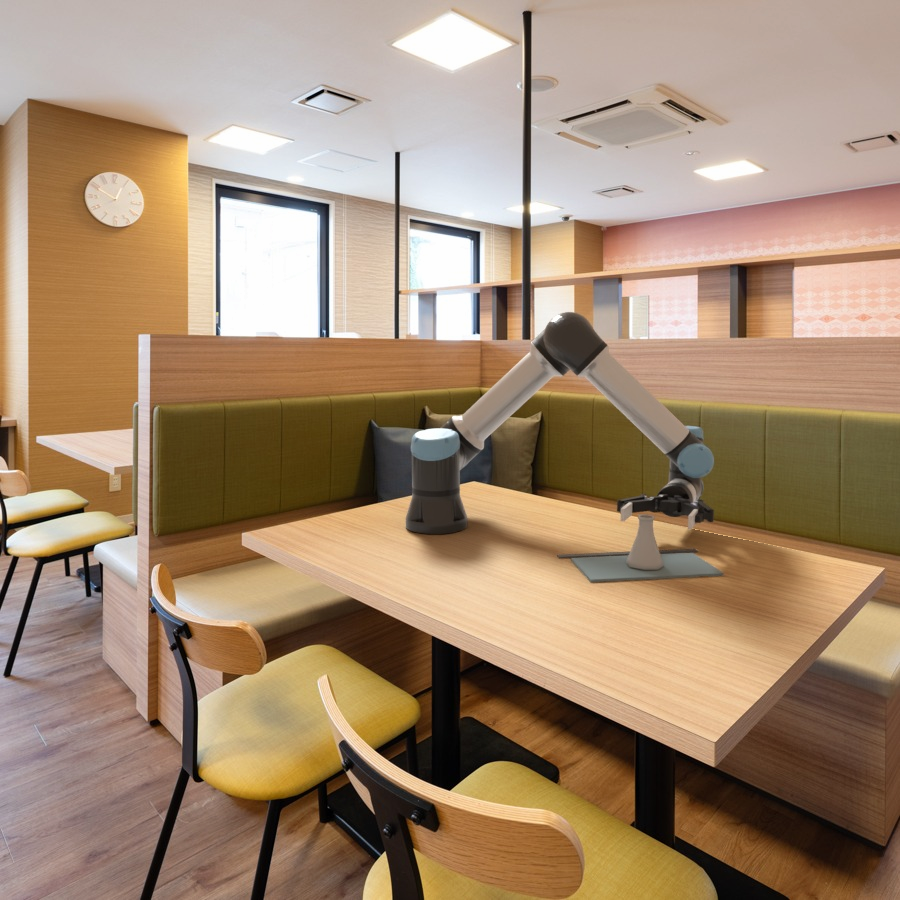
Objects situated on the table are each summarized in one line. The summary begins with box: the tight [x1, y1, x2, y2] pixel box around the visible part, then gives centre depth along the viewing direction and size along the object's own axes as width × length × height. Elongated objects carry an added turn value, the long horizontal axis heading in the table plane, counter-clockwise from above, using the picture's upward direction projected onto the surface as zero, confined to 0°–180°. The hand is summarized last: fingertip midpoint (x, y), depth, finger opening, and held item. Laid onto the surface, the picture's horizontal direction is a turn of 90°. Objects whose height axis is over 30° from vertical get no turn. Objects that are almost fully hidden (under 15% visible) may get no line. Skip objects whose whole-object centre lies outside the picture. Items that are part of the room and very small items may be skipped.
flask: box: [626, 513, 664, 570], centre depth 132 cm, size 7×7×10 cm
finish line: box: [556, 548, 699, 559], centre depth 142 cm, size 30×2×1 cm, turn 96°
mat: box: [570, 552, 725, 583], centre depth 133 cm, size 26×13×1 cm, turn 96°
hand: (655, 518), depth 138 cm, fingers open, 13 cm apart
